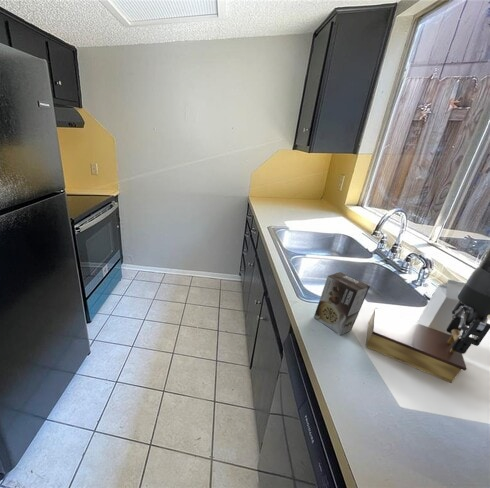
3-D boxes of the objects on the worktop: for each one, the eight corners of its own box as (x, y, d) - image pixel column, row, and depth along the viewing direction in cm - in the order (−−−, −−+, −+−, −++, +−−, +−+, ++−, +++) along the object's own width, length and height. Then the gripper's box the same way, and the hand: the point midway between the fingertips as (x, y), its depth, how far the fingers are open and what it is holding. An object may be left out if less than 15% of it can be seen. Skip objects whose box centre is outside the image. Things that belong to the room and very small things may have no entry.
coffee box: (352, 329, 80) (372, 286, 73) (339, 335, 77) (358, 291, 71) (325, 312, 87) (340, 271, 81) (312, 316, 85) (327, 274, 78)
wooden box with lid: (443, 350, 74) (451, 338, 72) (451, 383, 64) (461, 369, 62) (368, 322, 83) (374, 310, 81) (365, 346, 74) (371, 333, 72)
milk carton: (415, 324, 84) (444, 273, 76) (445, 332, 80) (478, 281, 73) (421, 337, 78) (453, 285, 70) (453, 347, 75) (490, 293, 67)
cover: (455, 339, 71) (464, 324, 69) (465, 370, 61) (477, 355, 59) (374, 310, 81) (380, 296, 79) (371, 333, 72) (379, 319, 70)
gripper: (526, 310, 52) (482, 367, 59) (504, 282, 63) (469, 333, 69) (473, 295, 57) (437, 350, 63) (461, 271, 67) (431, 320, 73)
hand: (454, 341), depth 66 cm, fingers open, 8 cm apart
